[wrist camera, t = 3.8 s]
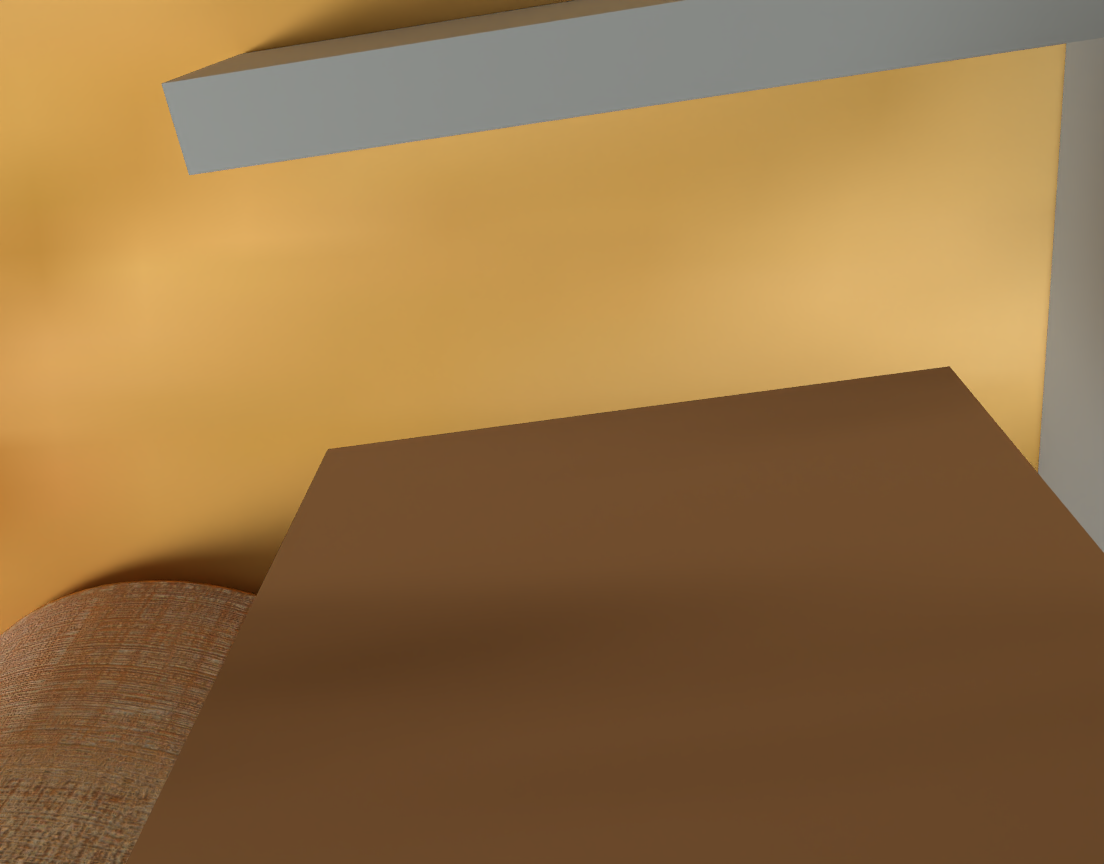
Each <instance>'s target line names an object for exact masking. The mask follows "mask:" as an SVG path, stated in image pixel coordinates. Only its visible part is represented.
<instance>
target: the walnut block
mask: <svg viewBox="0 0 1104 864" xmlns="http://www.w3.org/2000/svg"><path fill="white" fill-rule="evenodd" d="M126 864H1104V552H1103V551H1102V550H1101V549H1100V548H1099V546H1098V545H1097V544H1096V543H1095V541H1094V540H1093V539H1092V538H1091V537H1090V535H1089V534H1088V533H1087V532H1086V531H1085V529H1084V528H1083V527H1082V526H1081V525H1080V523H1079V522H1078V521H1077V520H1076V519H1075V517H1074V516H1073V515H1072V514H1071V513H1070V511H1069V510H1068V509H1067V508H1066V506H1065V505H1064V504H1063V503H1062V502H1061V500H1060V499H1059V498H1058V497H1057V496H1056V494H1055V493H1054V492H1053V491H1052V490H1051V488H1050V487H1049V486H1048V485H1047V484H1046V482H1045V481H1044V480H1043V479H1042V478H1041V476H1040V475H1039V474H1038V473H1037V471H1036V470H1035V469H1034V468H1033V467H1032V465H1031V464H1030V463H1029V462H1028V461H1027V459H1026V458H1025V457H1024V456H1023V455H1022V453H1021V452H1020V451H1019V450H1018V449H1017V447H1016V446H1015V445H1014V444H1013V443H1012V441H1011V440H1010V439H1009V438H1008V436H1007V435H1006V434H1005V433H1004V432H1003V430H1002V429H1001V428H1000V427H999V426H998V424H997V423H996V422H995V421H994V420H993V418H992V417H991V416H990V415H989V414H988V412H987V411H986V410H985V409H984V407H983V406H982V405H981V404H980V403H979V401H978V400H977V399H976V398H975V397H974V395H973V394H972V393H971V392H970V391H969V389H968V388H967V387H966V386H965V385H964V383H963V382H962V381H961V380H960V379H959V377H958V376H957V375H956V374H955V372H954V371H953V370H952V369H951V368H950V366H949V367H942V368H934V369H927V370H919V371H912V372H904V373H897V374H889V375H882V376H874V377H867V378H859V379H852V380H844V381H837V382H829V383H822V384H814V385H807V386H799V387H792V388H784V389H777V390H769V391H762V392H754V393H747V394H739V395H732V396H724V397H717V398H709V399H702V400H694V401H687V402H679V403H672V404H664V405H657V406H649V407H642V408H634V409H627V410H619V411H612V412H604V413H597V414H589V415H582V416H574V417H567V418H559V419H552V420H544V421H537V422H529V423H522V424H514V425H507V426H499V427H492V428H484V429H477V430H469V431H462V432H454V433H447V434H439V435H431V436H424V437H416V438H409V439H401V440H394V441H386V442H379V443H371V444H364V445H356V446H349V447H341V448H334V449H328V450H327V452H326V454H325V456H324V458H323V460H322V462H321V464H320V466H319V468H318V471H317V473H316V475H315V477H314V479H313V481H312V483H311V485H310V487H309V489H308V491H307V493H306V495H305V497H304V499H303V501H302V503H301V505H300V507H299V509H298V512H297V514H296V516H295V518H294V520H293V522H292V524H291V526H290V528H289V530H288V532H287V534H286V536H285V538H284V540H283V542H282V544H281V546H280V548H279V550H278V553H277V555H276V557H275V559H274V561H273V563H272V565H271V567H270V569H269V571H268V573H267V575H266V577H265V579H264V581H263V583H262V585H261V587H260V589H259V591H258V594H257V596H256V598H255V600H254V602H253V604H252V606H251V608H250V610H249V612H248V614H247V616H246V618H245V620H244V622H243V624H242V626H241V628H240V630H239V632H238V634H237V637H236V639H235V641H234V643H233V645H232V647H231V649H230V651H229V653H228V655H227V657H226V659H225V661H224V663H223V665H222V667H221V669H220V671H219V673H218V675H217V678H216V680H215V682H214V684H213V686H212V688H211V690H210V692H209V694H208V696H207V698H206V700H205V702H204V704H203V706H202V708H201V710H200V712H199V714H198V716H197V719H196V721H195V723H194V725H193V727H192V729H191V731H190V733H189V735H188V737H187V739H186V741H185V743H184V745H183V747H182V749H181V751H180V753H179V755H178V757H177V760H176V762H175V764H174V766H173V768H172V770H171V772H170V774H169V776H168V778H167V780H166V782H165V784H164V786H163V788H162V790H161V792H160V794H159V796H158V798H157V801H156V803H155V805H154V807H153V809H152V811H151V813H150V815H149V817H148V819H147V821H146V823H145V825H144V827H143V829H142V831H141V833H140V835H139V837H138V839H137V841H136V844H135V846H134V848H133V850H132V852H131V854H130V856H129V858H128V860H127V862H126Z"/></svg>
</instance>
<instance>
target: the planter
mask: <svg viewBox="0 0 1104 864" xmlns="http://www.w3.org/2000/svg"><path fill="white" fill-rule="evenodd" d="M256 596H257V595H256V594H253V593H250V592H246V591H242V590H238V589H233V588H229V587H224V586H219V585H213V584H208V583H200V582H192V581H180V580H141V581H129V582H120V583H113V584H106V585H101V586H97V587H93V588H89V589H85V590H82V591H79V592H76V593H73V594H70V595H67V596H64V597H62V598H59V599H57V600H54V601H52V602H50V603H48V604H46V605H44V606H42V607H40V608H38V609H36V610H34V611H32V612H31V613H29V614H28V615H26V616H25V617H23V618H22V619H20V620H19V621H18V622H17V623H15V624H14V625H13V626H11V627H10V628H9V629H8V630H7V631H5V632H4V633H3V634H2V635H1V636H0V864H126V862H127V860H128V858H129V856H130V854H131V852H132V850H133V848H134V846H135V844H136V841H137V839H138V837H139V835H140V833H141V831H142V829H143V827H144V825H145V823H146V821H147V819H148V817H149V815H150V813H151V811H152V809H153V807H154V805H155V803H156V801H157V798H158V796H159V794H160V792H161V790H162V788H163V786H164V784H165V782H166V780H167V778H168V776H169V774H170V772H171V770H172V768H173V766H174V764H175V762H176V760H177V757H178V755H179V753H180V751H181V749H182V747H183V745H184V743H185V741H186V739H187V737H188V735H189V733H190V731H191V729H192V727H193V725H194V723H195V721H196V719H197V716H198V714H199V712H200V710H201V708H202V706H203V704H204V702H205V700H206V698H207V696H208V694H209V692H210V690H211V688H212V686H213V684H214V682H215V680H216V678H217V675H218V673H219V671H220V669H221V667H222V665H223V663H224V661H225V659H226V657H227V655H228V653H229V651H230V649H231V647H232V645H233V643H234V641H235V639H236V637H237V634H238V632H239V630H240V628H241V626H242V624H243V622H244V620H245V618H246V616H247V614H248V612H249V610H250V608H251V606H252V604H253V602H254V600H255V598H256Z"/></svg>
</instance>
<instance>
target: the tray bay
mask: <svg viewBox="0 0 1104 864" xmlns="http://www.w3.org/2000/svg"><path fill="white" fill-rule="evenodd" d="M1064 43H1066V58H1065V73H1064V89H1063V104H1062V119H1061V134H1060V149H1059V165H1058V180H1057V195H1056V210H1055V225H1054V241H1053V256H1052V271H1051V286H1050V301H1049V317H1048V332H1047V347H1046V362H1045V377H1044V392H1043V408H1042V423H1041V438H1040V453H1039V468H1038V474H1039V475H1040V476H1041V478H1042V479H1043V480H1044V481H1045V482H1046V484H1047V485H1048V486H1049V487H1050V488H1051V490H1052V491H1053V492H1054V493H1055V494H1056V496H1057V497H1058V498H1059V499H1060V500H1061V502H1062V503H1063V504H1064V505H1065V506H1066V508H1067V509H1068V510H1069V511H1070V513H1071V514H1072V515H1073V516H1074V517H1075V519H1076V520H1077V521H1078V522H1079V523H1080V525H1081V526H1082V527H1083V528H1084V529H1085V531H1086V532H1087V533H1088V534H1089V535H1090V537H1091V538H1092V539H1093V540H1094V541H1095V543H1096V544H1097V545H1098V546H1099V548H1100V549H1101V550H1102V551H1103V552H1104V0H573V1H567V2H561V3H554V4H548V5H542V6H536V7H529V8H523V9H517V10H511V11H505V12H498V13H492V14H486V15H480V16H473V17H467V18H461V19H455V20H449V21H442V22H436V23H430V24H424V25H417V26H411V27H405V28H399V29H393V30H386V31H380V32H374V33H368V34H362V35H355V36H349V37H343V38H337V39H330V40H324V41H318V42H312V43H306V44H299V45H293V46H287V47H281V48H274V49H268V50H262V51H256V52H250V53H243V54H240V55H237V56H234V57H232V58H229V59H226V60H224V61H221V62H218V63H216V64H213V65H210V66H207V67H205V68H202V69H199V70H197V71H194V72H191V73H189V74H186V75H183V76H181V77H178V78H175V79H173V80H170V81H167V82H165V83H162V87H163V90H164V94H165V97H166V100H167V103H168V107H169V110H170V113H171V117H172V120H173V123H174V127H175V130H176V133H177V136H178V140H179V143H180V146H181V150H182V153H183V156H184V160H185V163H186V166H187V169H188V173H189V175H194V174H200V173H207V172H214V171H220V170H227V169H234V168H240V167H247V166H254V165H260V164H267V163H273V162H280V161H287V160H293V159H300V158H307V157H313V156H320V155H327V154H333V153H340V152H347V151H353V150H360V149H367V148H373V147H380V146H386V145H393V144H400V143H406V142H413V141H420V140H426V139H433V138H440V137H446V136H453V135H460V134H466V133H473V132H480V131H486V130H493V129H499V128H506V127H513V126H519V125H526V124H533V123H539V122H546V121H553V120H559V119H566V118H573V117H579V116H586V115H593V114H599V113H606V112H612V111H619V110H626V109H632V108H639V107H646V106H652V105H659V104H666V103H672V102H679V101H686V100H692V99H699V98H706V97H712V96H719V95H725V94H732V93H739V92H745V91H752V90H759V89H765V88H772V87H779V86H785V85H792V84H799V83H805V82H812V81H819V80H825V79H832V78H838V77H845V76H852V75H858V74H865V73H872V72H878V71H885V70H892V69H898V68H905V67H912V66H918V65H925V64H932V63H938V62H945V61H951V60H958V59H965V58H971V57H978V56H985V55H991V54H998V53H1005V52H1011V51H1018V50H1025V49H1031V48H1038V47H1045V46H1051V45H1058V44H1064Z"/></svg>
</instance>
